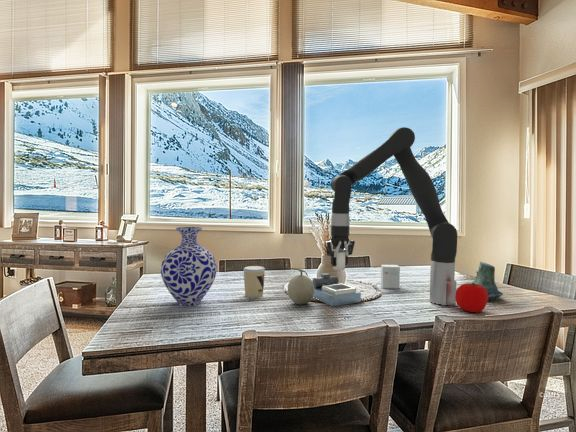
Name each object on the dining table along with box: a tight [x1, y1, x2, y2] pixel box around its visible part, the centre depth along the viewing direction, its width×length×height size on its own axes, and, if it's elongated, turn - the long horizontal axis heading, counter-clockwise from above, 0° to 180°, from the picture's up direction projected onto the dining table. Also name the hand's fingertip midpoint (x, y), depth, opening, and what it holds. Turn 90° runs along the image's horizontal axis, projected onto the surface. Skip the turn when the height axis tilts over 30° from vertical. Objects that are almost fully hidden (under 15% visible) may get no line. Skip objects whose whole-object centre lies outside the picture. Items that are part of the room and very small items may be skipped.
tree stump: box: [471, 261, 504, 301], centre depth 166 cm, size 18×20×18 cm
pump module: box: [332, 249, 346, 271], centre depth 156 cm, size 5×5×8 cm
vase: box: [160, 226, 218, 307], centre depth 151 cm, size 22×22×30 cm
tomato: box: [455, 282, 489, 313], centre depth 145 cm, size 12×12×11 cm
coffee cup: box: [243, 265, 266, 298], centre depth 164 cm, size 9×9×12 cm
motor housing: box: [311, 272, 362, 307], centre depth 160 cm, size 18×14×9 cm
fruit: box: [285, 266, 314, 305], centre depth 152 cm, size 10×12×15 cm
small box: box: [380, 264, 401, 290], centre depth 182 cm, size 8×6×10 cm
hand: (339, 265), depth 156 cm, fingers closed on pump module, 4 cm apart
